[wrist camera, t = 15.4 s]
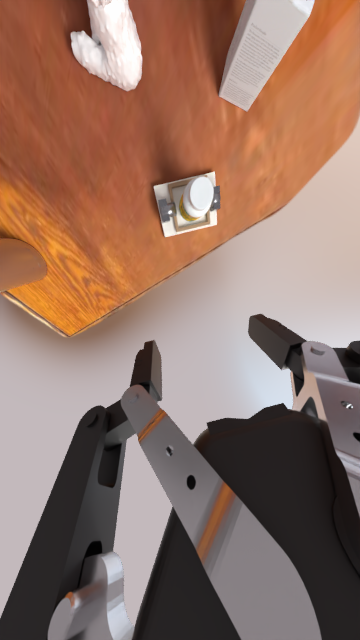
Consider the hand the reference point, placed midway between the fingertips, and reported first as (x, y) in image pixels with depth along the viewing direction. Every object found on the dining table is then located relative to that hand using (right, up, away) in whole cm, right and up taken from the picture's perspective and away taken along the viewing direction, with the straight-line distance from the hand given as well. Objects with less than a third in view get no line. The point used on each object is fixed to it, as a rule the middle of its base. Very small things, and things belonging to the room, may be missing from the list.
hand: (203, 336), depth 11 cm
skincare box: (+8, +42, +12) cm, 44 cm away
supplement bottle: (0, +27, +18) cm, 33 cm away
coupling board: (0, +27, +19) cm, 33 cm away
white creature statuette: (-12, +42, +9) cm, 44 cm away
